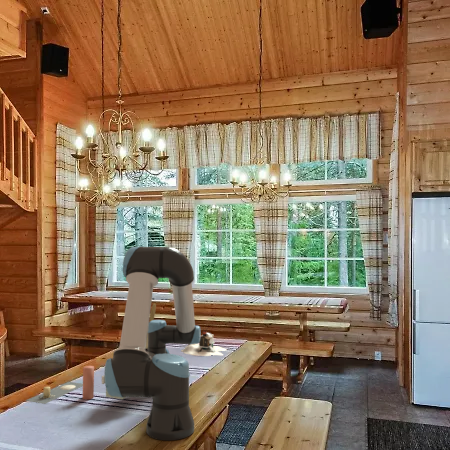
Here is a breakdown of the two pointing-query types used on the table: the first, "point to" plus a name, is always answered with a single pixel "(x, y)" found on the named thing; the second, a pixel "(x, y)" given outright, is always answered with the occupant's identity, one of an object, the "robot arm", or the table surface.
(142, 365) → the robot arm
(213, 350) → the cabin
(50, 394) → the board
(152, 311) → the handbell
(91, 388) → the peg
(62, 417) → the table surface
